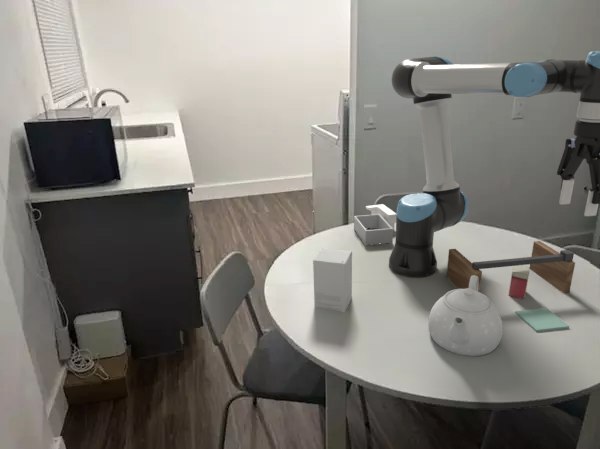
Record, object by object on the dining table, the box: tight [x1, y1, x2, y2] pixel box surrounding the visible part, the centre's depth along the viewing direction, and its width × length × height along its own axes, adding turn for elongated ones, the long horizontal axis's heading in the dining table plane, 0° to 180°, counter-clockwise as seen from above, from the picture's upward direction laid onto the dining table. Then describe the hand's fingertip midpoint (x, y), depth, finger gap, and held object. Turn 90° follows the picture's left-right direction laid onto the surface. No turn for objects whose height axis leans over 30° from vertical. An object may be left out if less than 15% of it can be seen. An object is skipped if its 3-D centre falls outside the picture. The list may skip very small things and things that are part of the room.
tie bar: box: [471, 249, 575, 270], centre depth 131 cm, size 29×2×2 cm, turn 99°
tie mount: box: [446, 240, 576, 293], centre depth 138 cm, size 30×16×9 cm, turn 99°
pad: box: [514, 307, 570, 332], centre depth 121 cm, size 9×9×1 cm
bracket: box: [365, 203, 397, 231], centre depth 186 cm, size 13×7×8 cm
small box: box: [508, 265, 531, 299], centre depth 133 cm, size 5×4×8 cm
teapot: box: [427, 275, 504, 357], centre depth 113 cm, size 19×18×14 cm
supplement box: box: [312, 247, 353, 313], centre depth 130 cm, size 9×9×15 cm
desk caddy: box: [353, 214, 394, 246], centre depth 176 cm, size 10×16×6 cm, turn 9°
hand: (576, 209), depth 119 cm, fingers open, 9 cm apart
